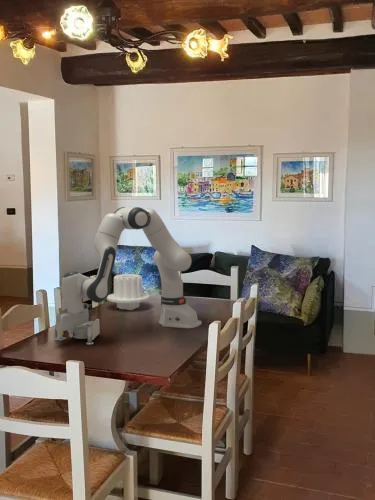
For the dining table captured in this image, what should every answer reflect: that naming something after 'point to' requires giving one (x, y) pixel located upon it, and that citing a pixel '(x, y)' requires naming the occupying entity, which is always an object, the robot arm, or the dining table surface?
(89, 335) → the gate post
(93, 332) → the gate
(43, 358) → the dining table surface
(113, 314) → the dining table surface
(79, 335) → the ramekin
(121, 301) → the ribbed cylinder on disc
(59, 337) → the post
